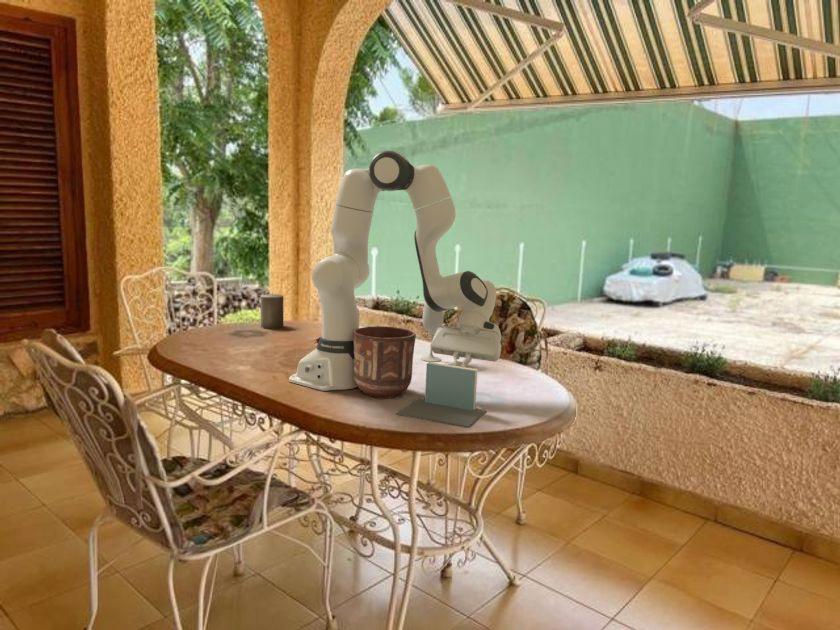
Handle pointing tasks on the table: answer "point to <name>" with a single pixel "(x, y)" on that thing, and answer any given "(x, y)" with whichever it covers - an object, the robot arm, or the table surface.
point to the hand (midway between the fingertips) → (458, 368)
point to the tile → (451, 385)
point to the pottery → (383, 360)
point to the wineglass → (431, 327)
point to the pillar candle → (272, 311)
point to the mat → (441, 413)
